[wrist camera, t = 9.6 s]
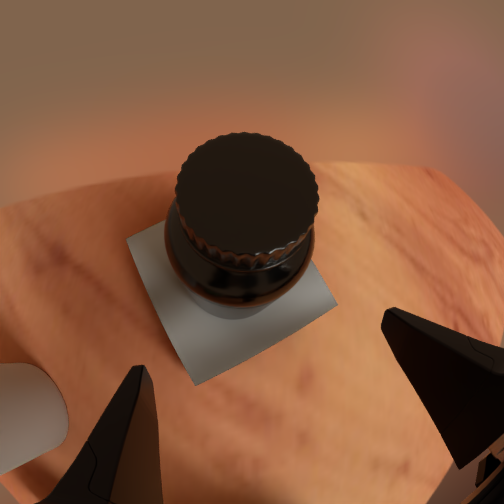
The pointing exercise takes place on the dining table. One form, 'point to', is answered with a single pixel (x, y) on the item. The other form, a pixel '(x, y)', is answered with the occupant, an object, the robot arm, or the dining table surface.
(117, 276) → the dining table surface
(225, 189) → the supplement bottle
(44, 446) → the mug
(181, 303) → the plate
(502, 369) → the robot arm
